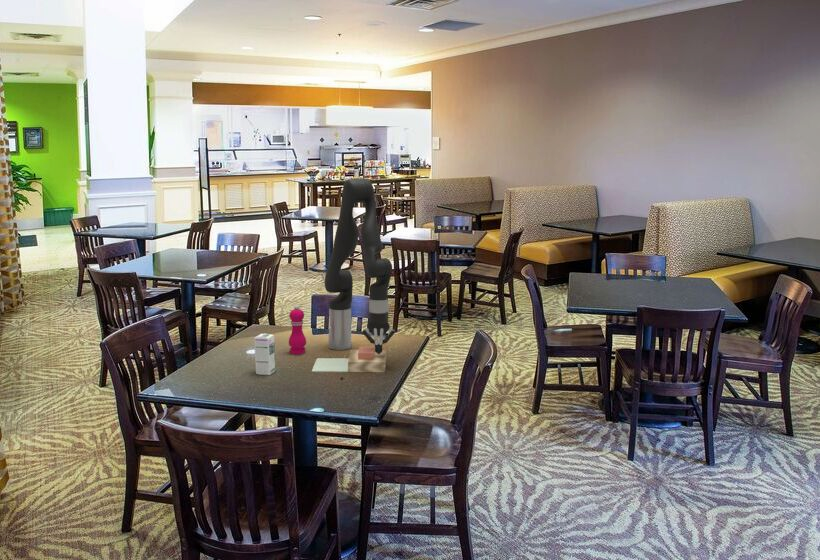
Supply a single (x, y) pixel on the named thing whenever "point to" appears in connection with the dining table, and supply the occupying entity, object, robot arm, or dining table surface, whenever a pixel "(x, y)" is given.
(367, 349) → the tile
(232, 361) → the dining table surface
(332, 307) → the robot arm
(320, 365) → the mat
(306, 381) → the dining table surface
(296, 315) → the pepper mill
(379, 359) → the board
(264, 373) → the syrup box
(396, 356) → the dining table surface
